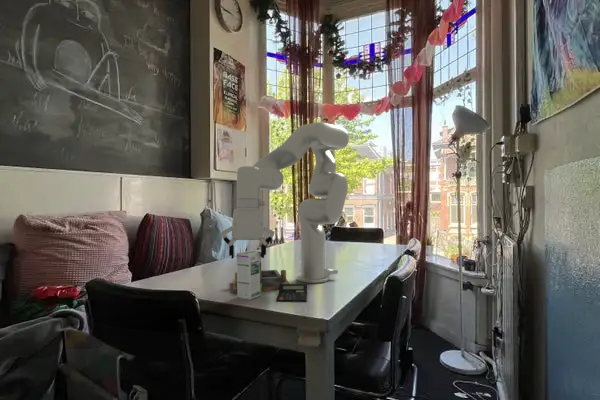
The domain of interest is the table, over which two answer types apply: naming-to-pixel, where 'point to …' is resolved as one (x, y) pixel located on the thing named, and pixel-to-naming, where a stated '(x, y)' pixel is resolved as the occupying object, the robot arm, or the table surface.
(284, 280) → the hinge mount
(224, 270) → the table surface
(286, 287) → the calculator
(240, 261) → the syrup box
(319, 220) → the robot arm
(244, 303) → the table surface
